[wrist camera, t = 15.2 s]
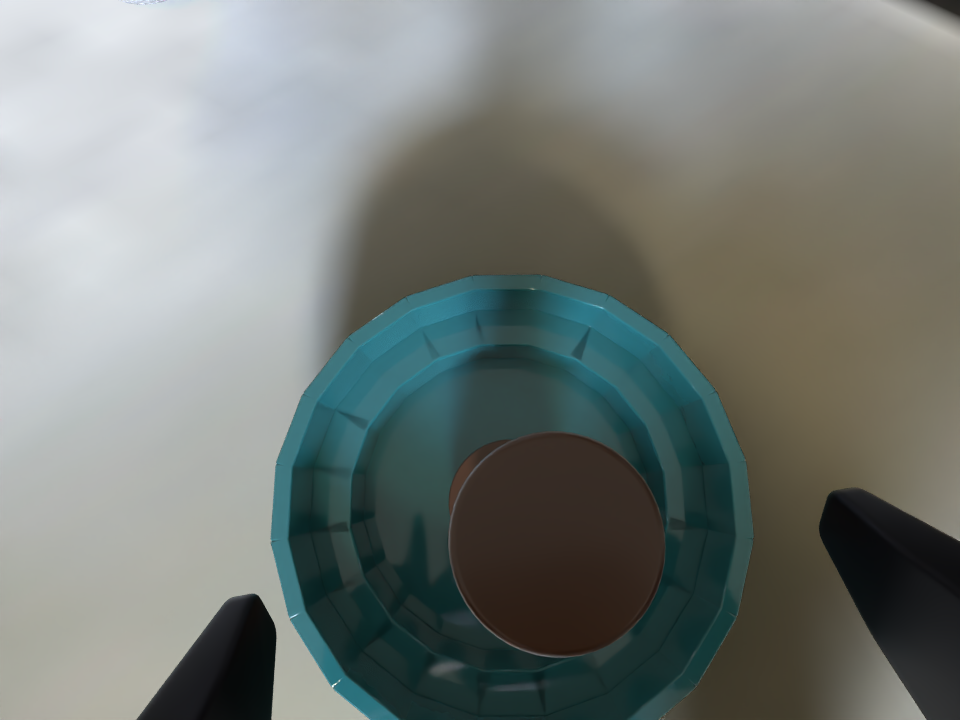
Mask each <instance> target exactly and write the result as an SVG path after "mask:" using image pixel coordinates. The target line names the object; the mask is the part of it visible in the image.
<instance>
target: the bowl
mask: <svg viewBox="0 0 960 720" xmlns="http://www.w3.org/2000/svg"><path fill="white" fill-rule="evenodd" d="M545 431H563V432H570V433H576V434H580V435H583V436H587V437H590V438H592V439H595V440H597V441H599V442H601V443H603V444H605V445H607V446H608V447H610V448H612V449H613V450H615V451H616V452H617V453H619V454H620V455H621V456H623V457H624V458H625V459H626V460H627V461H628V462H629V463H630V464H631V465H632V466H633V467H634V468H635V469H636V470H637V471H638V473H639V474H640V475H641V476H642V478H643V479H644V480H645V482H646V484H647V485H648V487H649V488H650V490H651V492H652V494H653V496H654V498H655V501H656V503H657V505H658V508H659V511H660V514H661V518H662V522H663V528H664V533H665V562H664V568H663V573H662V578H661V581H660V584H659V587H658V590H657V592H656V594H655V596H654V598H653V600H652V602H651V605H650V606H649V608H648V609H647V611H646V612H645V614H644V615H643V617H642V618H641V619H640V620H639V621H638V622H637V623H636V625H635V626H634V627H633V628H632V629H631V630H630V631H628V632H627V633H626V634H625V635H624V636H622V637H621V638H620V639H618V640H617V641H615V642H613V643H612V644H610V645H609V646H606V647H604V648H602V649H600V650H598V651H595V652H592V653H588V654H585V655H581V656H574V657H567V658H560V657H545V656H539V655H535V654H531V653H528V652H524V651H522V650H519V649H517V648H515V647H513V646H511V645H509V644H507V643H505V642H504V641H502V640H501V639H499V638H497V637H496V636H495V635H494V634H492V633H491V632H490V631H489V630H488V629H486V628H485V627H484V626H483V625H482V624H481V623H480V621H479V620H478V619H477V618H476V617H475V616H474V615H473V613H472V612H471V610H470V609H469V608H468V606H467V605H466V603H465V601H464V599H463V598H462V596H461V594H460V592H459V590H458V587H457V585H456V582H455V579H454V577H453V573H452V569H451V564H450V559H449V550H448V531H449V524H450V513H449V493H450V487H451V484H452V481H453V478H454V476H455V474H456V472H457V470H458V468H459V467H460V465H461V464H462V463H463V461H464V460H465V459H466V458H467V457H468V456H469V455H470V454H471V453H473V452H474V451H475V450H477V449H478V448H480V447H482V446H484V445H486V444H489V443H491V442H495V441H499V440H513V439H516V438H518V437H520V436H524V435H528V434H532V433H537V432H545ZM276 463H277V464H276V467H275V482H274V496H273V511H272V526H271V545H272V549H273V554H274V558H275V562H276V566H277V570H278V574H279V578H280V582H281V587H282V591H283V595H284V599H285V603H286V607H287V611H288V615H289V618H291V619H290V620H291V622H292V624H293V626H294V627H295V629H296V630H297V632H298V634H299V635H300V637H301V639H302V640H303V642H304V643H305V645H306V647H307V648H308V650H309V651H310V653H311V655H312V656H313V658H314V660H315V661H316V663H317V664H318V666H319V668H320V669H321V671H322V673H323V674H324V676H325V677H326V679H327V681H328V682H329V684H330V685H331V687H333V689H334V690H335V691H336V692H337V693H339V694H340V695H341V696H342V697H343V698H345V699H346V700H347V701H348V702H349V703H351V704H352V705H353V706H354V707H355V708H357V709H358V710H359V711H360V712H362V713H363V714H364V715H365V716H366V717H368V718H369V719H370V720H659V719H660V718H661V717H662V716H664V715H665V714H666V713H667V712H668V711H669V710H671V709H672V708H673V707H674V706H675V705H676V704H678V703H679V702H680V701H681V700H682V699H684V698H685V697H686V696H687V695H688V694H689V693H691V692H692V691H693V690H694V689H695V688H696V687H695V686H697V685H698V684H699V682H700V680H701V679H702V677H703V675H704V674H705V672H706V670H707V668H708V667H709V665H710V663H711V662H712V660H713V658H714V656H715V655H716V653H717V651H718V650H719V648H720V646H721V644H722V643H723V641H724V639H725V638H726V636H727V634H728V632H729V631H730V629H731V627H732V626H733V624H734V622H735V621H736V618H737V617H736V616H738V612H739V607H740V603H741V598H742V593H743V588H744V584H745V579H746V574H747V569H748V565H749V560H750V555H751V550H752V546H753V539H752V538H754V533H753V523H752V513H751V503H750V493H749V484H748V474H747V464H746V461H745V457H744V455H743V452H742V450H741V448H740V445H739V443H738V441H737V438H736V436H735V433H734V431H733V429H732V426H731V424H730V422H729V419H728V417H727V415H726V412H725V410H724V408H723V405H722V403H721V400H720V398H719V396H718V393H717V392H716V391H715V388H714V387H713V386H712V385H711V384H710V382H709V381H708V380H707V379H706V378H705V376H704V375H703V374H702V373H701V372H700V370H699V369H698V368H697V367H696V366H695V364H694V363H693V362H692V361H691V360H690V358H689V357H688V356H687V355H686V354H685V352H684V351H683V350H682V349H681V348H680V347H679V345H678V344H677V343H676V342H675V341H674V339H673V338H672V337H671V336H670V335H668V333H667V332H665V331H664V330H662V329H661V328H659V327H658V326H656V325H655V324H653V323H652V322H650V321H649V320H647V319H646V318H644V317H643V316H641V315H640V314H638V313H636V312H635V311H633V310H632V309H630V308H629V307H627V306H626V305H624V304H623V303H621V302H620V301H618V300H617V299H615V298H614V297H612V296H610V295H609V296H608V294H606V293H603V292H599V291H596V290H592V289H589V288H586V287H582V286H579V285H575V284H572V283H569V282H565V281H562V280H558V279H555V278H552V277H548V276H545V275H542V276H541V275H473V276H468V277H465V278H462V279H458V280H455V281H452V282H449V283H446V284H443V285H440V286H436V287H433V288H430V289H427V290H424V291H421V292H418V293H414V294H411V295H408V296H407V297H404V298H403V299H401V300H400V301H398V302H397V303H395V304H394V305H392V306H391V307H390V308H388V309H387V310H385V311H384V312H382V313H381V314H379V315H378V316H377V317H375V318H374V319H372V320H371V321H369V322H368V323H366V324H365V325H364V326H362V327H361V328H359V329H358V330H356V331H355V332H353V333H352V334H351V335H349V338H348V337H347V338H346V339H345V341H344V342H343V343H342V344H341V346H340V347H339V348H338V349H337V351H336V352H335V353H334V354H333V356H332V357H331V358H330V360H329V361H328V362H327V363H326V365H325V366H324V367H323V368H322V370H321V371H320V372H319V374H318V375H317V376H316V377H315V379H314V380H313V381H312V382H311V384H310V385H309V386H308V388H307V389H306V390H305V391H304V394H303V395H302V396H301V399H300V402H299V404H298V407H297V409H296V412H295V415H294V417H293V420H292V422H291V425H290V428H289V430H288V433H287V435H286V438H285V440H284V443H283V446H282V448H281V451H280V453H279V456H278V459H277V461H276Z"/></svg>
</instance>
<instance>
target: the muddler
mask: <svg viewBox="0 0 960 720" xmlns="http://www.w3.org/2000/svg"><path fill="white" fill-rule="evenodd" d="M449 513H450V524H449V531H448V550H449V559H450V564H451V569H452V573H453V577H454V579H455V582H456V585H457V587H458V590H459V592H460V594H461V596H462V598H463V599H464V601H465V603H466V605H467V606H468V608H469V609H470V610H471V612H472V613H473V615H474V616H475V617H476V618H477V619H478V620H479V621H480V623H481V624H482V625H483V626H484V627H485V628H486V629H488V630H489V631H490V632H491V633H492V634H494V635H495V636H496V637H497V638H499V639H501V640H502V641H504V642H505V643H507V644H509V645H511V646H513V647H515V648H517V649H519V650H522V651H524V652H528V653H531V654H535V655H539V656H545V657H560V658H567V657H574V656H581V655H585V654H588V653H592V652H595V651H598V650H600V649H602V648H604V647H606V646H609V645H610V644H612V643H613V642H615V641H617V640H618V639H620V638H621V637H622V636H624V635H625V634H626V633H627V632H628V631H630V630H631V629H632V628H633V627H634V626H635V625H636V623H637V622H638V621H639V620H640V619H641V618H642V617H643V615H644V614H645V612H646V611H647V609H648V608H649V606H650V605H651V602H652V600H653V598H654V596H655V594H656V592H657V590H658V587H659V584H660V581H661V578H662V573H663V568H664V562H665V533H664V528H663V522H662V518H661V514H660V511H659V508H658V505H657V503H656V501H655V498H654V496H653V494H652V492H651V490H650V488H649V487H648V485H647V484H646V482H645V480H644V479H643V478H642V476H641V475H640V474H639V473H638V471H637V470H636V469H635V468H634V467H633V466H632V465H631V464H630V463H629V462H628V461H627V460H626V459H625V458H624V457H623V456H621V455H620V454H619V453H617V452H616V451H615V450H613V449H612V448H610V447H608V446H607V445H605V444H603V443H601V442H599V441H597V440H595V439H592V438H590V437H587V436H583V435H580V434H576V433H570V432H563V431H545V432H537V433H532V434H528V435H524V436H520V437H518V438H516V439H513V440H499V441H495V442H491V443H489V444H486V445H484V446H482V447H480V448H478V449H477V450H475V451H474V452H473V453H471V454H470V455H469V456H468V457H467V458H466V459H465V460H464V461H463V463H462V464H461V465H460V467H459V468H458V470H457V472H456V474H455V476H454V478H453V481H452V484H451V487H450V493H449Z"/></svg>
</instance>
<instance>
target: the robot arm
mask: <svg viewBox="0 0 960 720" xmlns="http://www.w3.org/2000/svg"><path fill="white" fill-rule="evenodd" d="M819 532H820V536H821V539H822V542H823V544H824V546H825V548H826V549H827V551H828V553H829V555H830V557H831V559H832V561H833V563H834V565H835V567H836V569H837V571H838V572H839V574H840V576H841V578H842V580H843V582H844V584H845V586H846V588H847V590H848V592H849V594H850V595H851V597H852V599H853V601H854V603H855V605H856V607H857V609H858V611H859V613H860V615H861V617H862V618H863V620H864V622H865V624H866V626H867V627H868V629H869V631H870V633H871V634H872V636H873V638H874V639H875V641H876V642H877V644H878V646H879V647H880V649H881V650H882V652H883V653H884V655H885V657H886V658H887V660H888V661H889V663H890V664H891V666H892V667H893V669H894V670H895V672H896V673H897V675H898V676H899V678H900V680H901V681H902V683H903V684H904V686H905V687H906V689H907V690H908V692H909V693H910V695H911V696H912V698H913V699H914V701H915V703H916V704H917V706H918V707H919V709H920V710H921V712H922V713H923V715H924V716H925V718H926V719H927V720H960V541H958V540H956V539H954V538H952V537H951V536H949V535H947V534H945V533H943V532H941V531H939V530H938V529H936V528H934V527H932V526H930V525H928V524H926V523H925V522H923V521H921V520H919V519H917V518H915V517H914V516H912V515H910V514H908V513H906V512H904V511H902V510H901V509H899V508H897V507H895V506H893V505H891V504H889V503H888V502H886V501H884V500H882V499H880V498H878V497H876V496H875V495H873V494H871V493H869V492H867V491H865V490H863V489H860V488H856V487H855V488H846V489H841V490H835V491H832V492H831V493H830V494H829V495H828V497H827V500H826V503H825V507H824V510H823V513H822V517H821V520H820V524H819ZM275 653H276V628H275V625H274V622H273V620H272V618H271V617H270V615H269V613H268V611H267V609H266V608H265V606H264V604H263V602H262V600H261V599H260V597H259V596H258V595H256V594H247V595H242V596H236V597H232V598H230V599H228V600H227V601H226V602H225V603H224V604H223V606H222V607H221V608H220V610H219V611H218V612H217V614H216V615H215V616H214V618H213V619H212V620H211V622H210V623H209V624H208V626H207V627H206V628H205V629H204V631H203V632H202V633H201V635H200V636H199V637H198V639H197V640H196V641H195V643H194V644H193V645H192V647H191V648H190V649H189V651H188V652H187V653H186V655H185V656H184V657H183V659H182V660H181V661H180V663H179V664H178V665H177V667H176V668H175V669H174V671H173V672H172V673H171V675H170V676H169V677H168V679H167V680H166V681H165V683H164V684H163V685H162V687H161V688H160V689H159V691H158V692H157V693H156V695H155V696H154V697H153V698H152V700H151V701H150V702H149V704H148V705H147V706H146V708H145V709H144V710H143V712H142V713H141V714H140V716H139V717H138V718H137V720H271V716H272V700H273V684H274V668H275Z"/></svg>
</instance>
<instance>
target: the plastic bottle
mask: <svg viewBox="0 0 960 720" xmlns="http://www.w3.org/2000/svg"><path fill="white" fill-rule="evenodd" d="M120 1H123V2H126V3H131V4H139V5H140V4H154V3H158V2H163V1H166V0H120Z"/></svg>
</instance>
